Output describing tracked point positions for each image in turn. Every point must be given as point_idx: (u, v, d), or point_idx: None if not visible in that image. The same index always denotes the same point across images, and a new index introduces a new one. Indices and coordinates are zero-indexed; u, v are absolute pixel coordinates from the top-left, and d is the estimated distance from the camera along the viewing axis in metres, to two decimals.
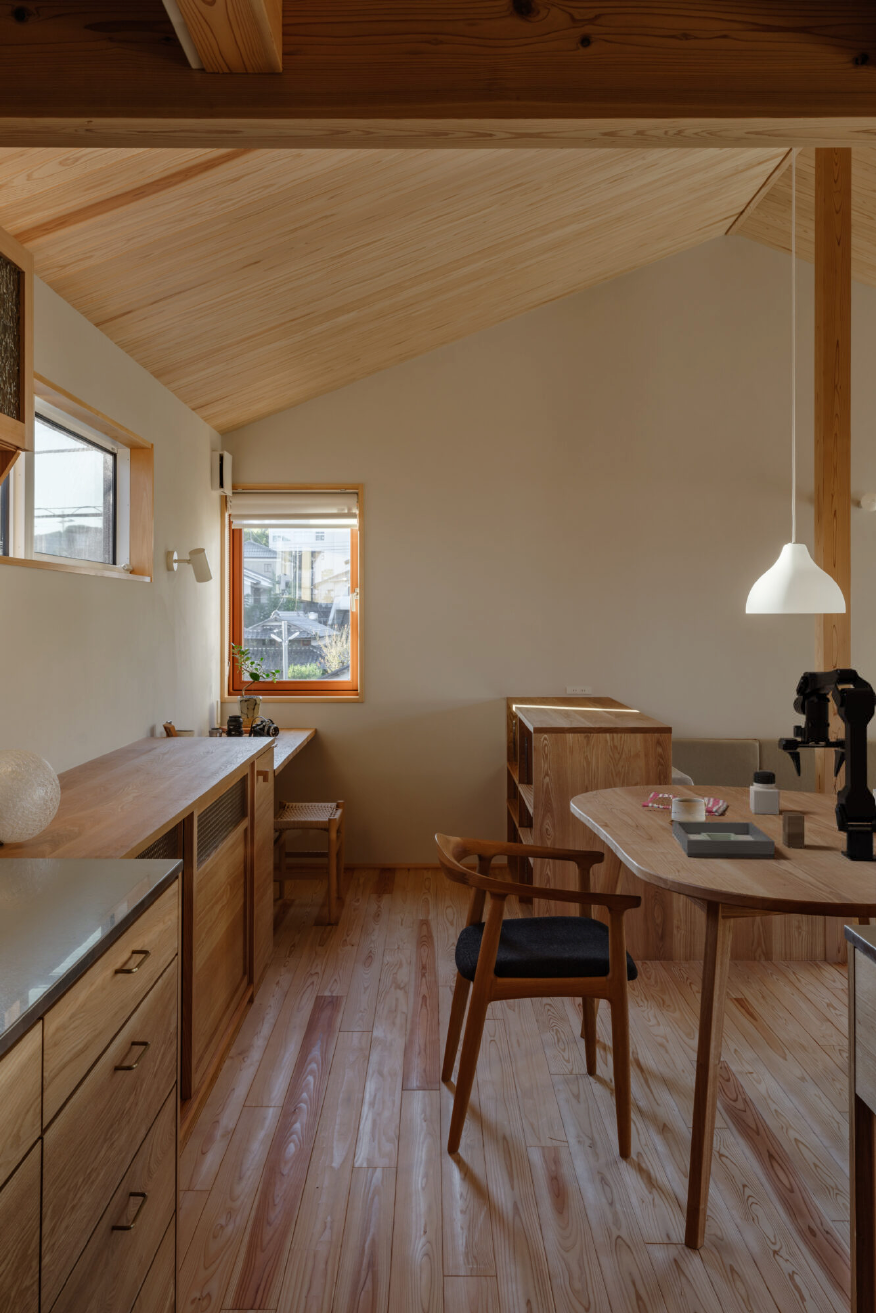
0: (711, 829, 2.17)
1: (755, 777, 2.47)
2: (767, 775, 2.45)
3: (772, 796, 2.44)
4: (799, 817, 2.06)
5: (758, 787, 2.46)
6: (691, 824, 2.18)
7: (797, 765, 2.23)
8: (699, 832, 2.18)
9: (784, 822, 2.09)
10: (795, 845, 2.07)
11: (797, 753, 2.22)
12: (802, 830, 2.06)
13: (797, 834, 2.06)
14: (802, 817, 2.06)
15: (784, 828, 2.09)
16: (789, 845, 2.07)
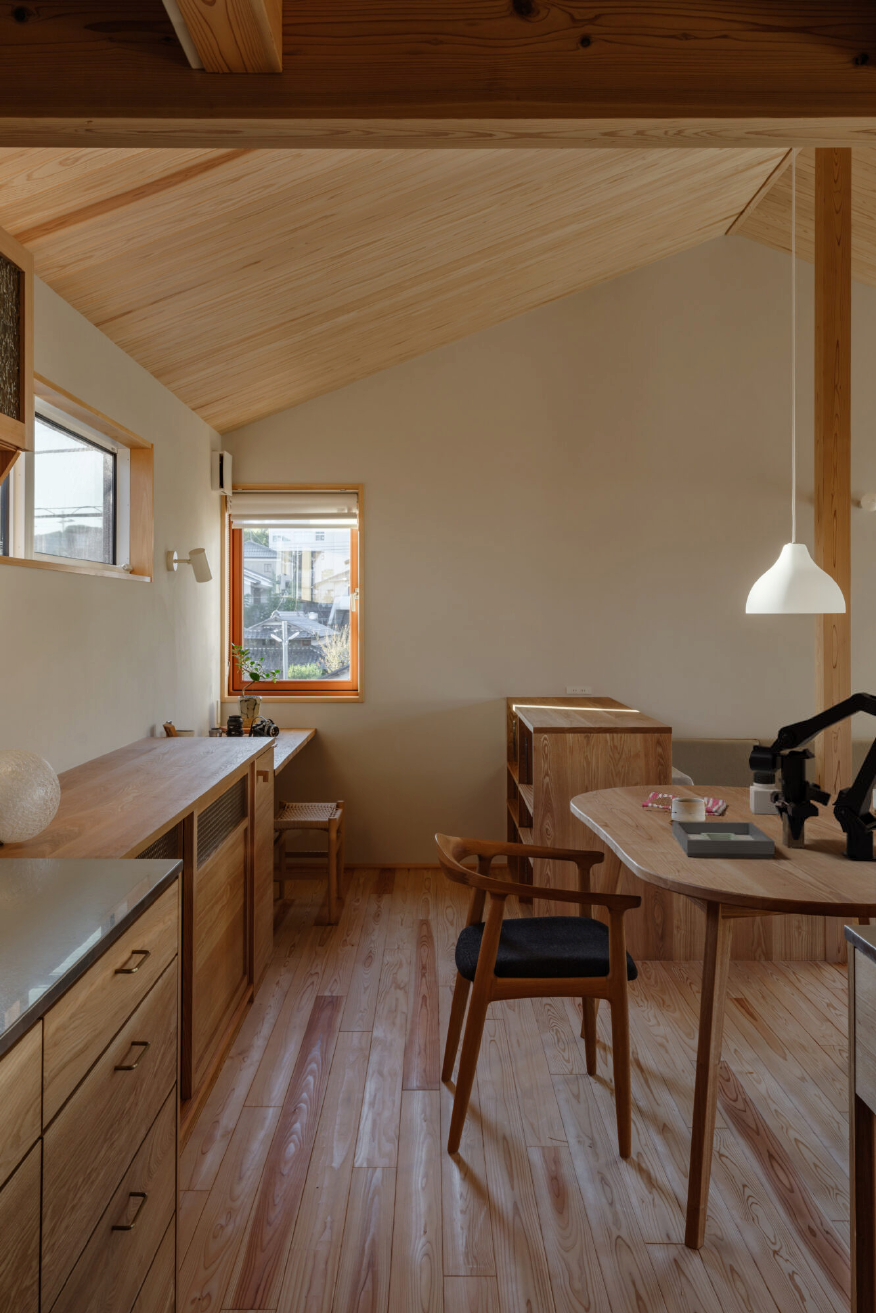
0: (711, 829, 2.17)
1: (755, 777, 2.47)
2: (767, 775, 2.45)
3: None
4: None
5: (758, 787, 2.46)
6: (691, 824, 2.18)
7: None
8: (699, 832, 2.18)
9: (784, 822, 2.09)
10: (795, 845, 2.07)
11: (777, 808, 2.12)
12: (802, 830, 2.06)
13: None
14: None
15: (784, 828, 2.09)
16: (789, 845, 2.07)
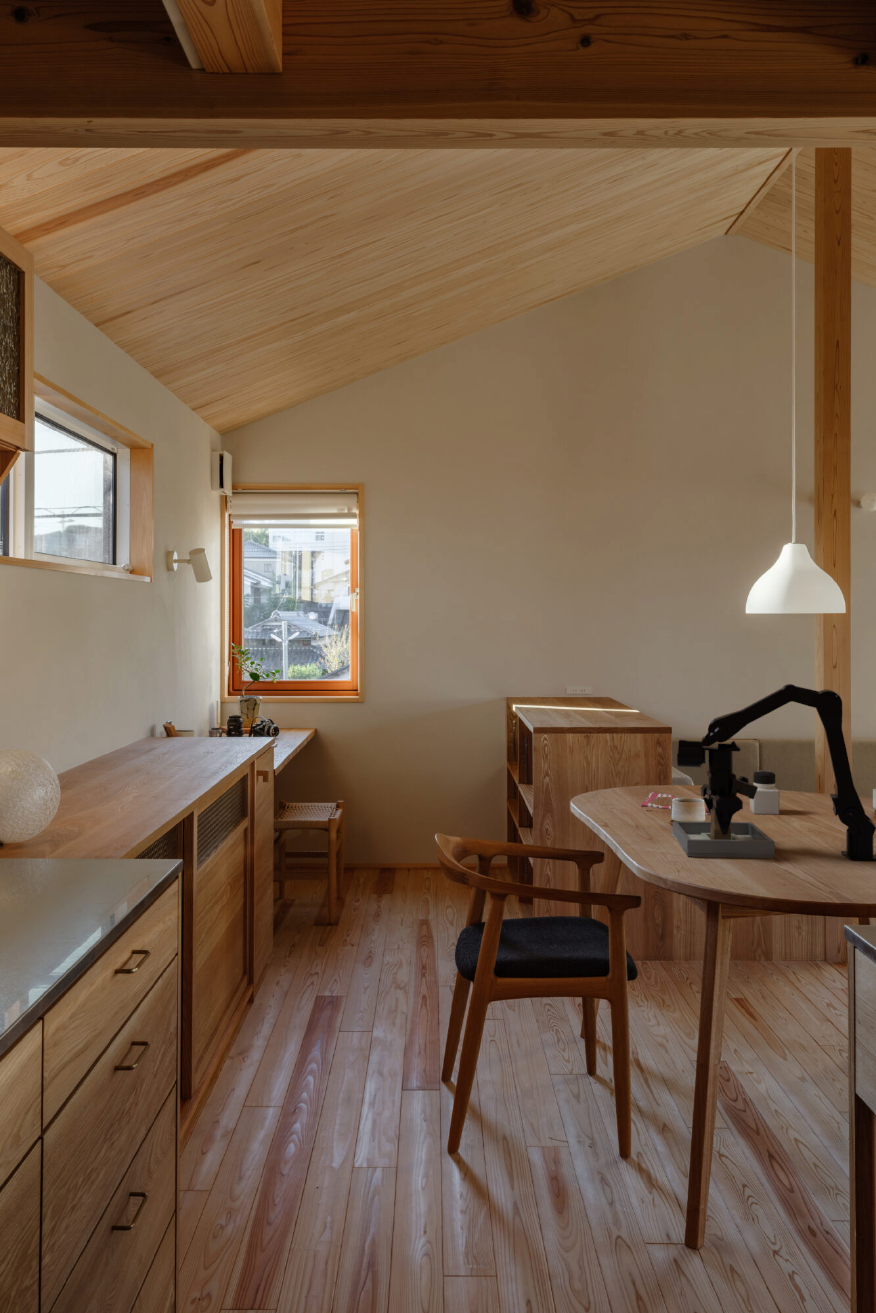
0: None
1: (755, 777, 2.47)
2: (767, 775, 2.45)
3: (772, 796, 2.44)
4: None
5: (758, 787, 2.46)
6: (691, 824, 2.18)
7: None
8: (699, 832, 2.18)
9: (712, 819, 2.09)
10: None
11: (704, 800, 2.14)
12: (729, 827, 2.06)
13: None
14: None
15: (712, 825, 2.09)
16: None
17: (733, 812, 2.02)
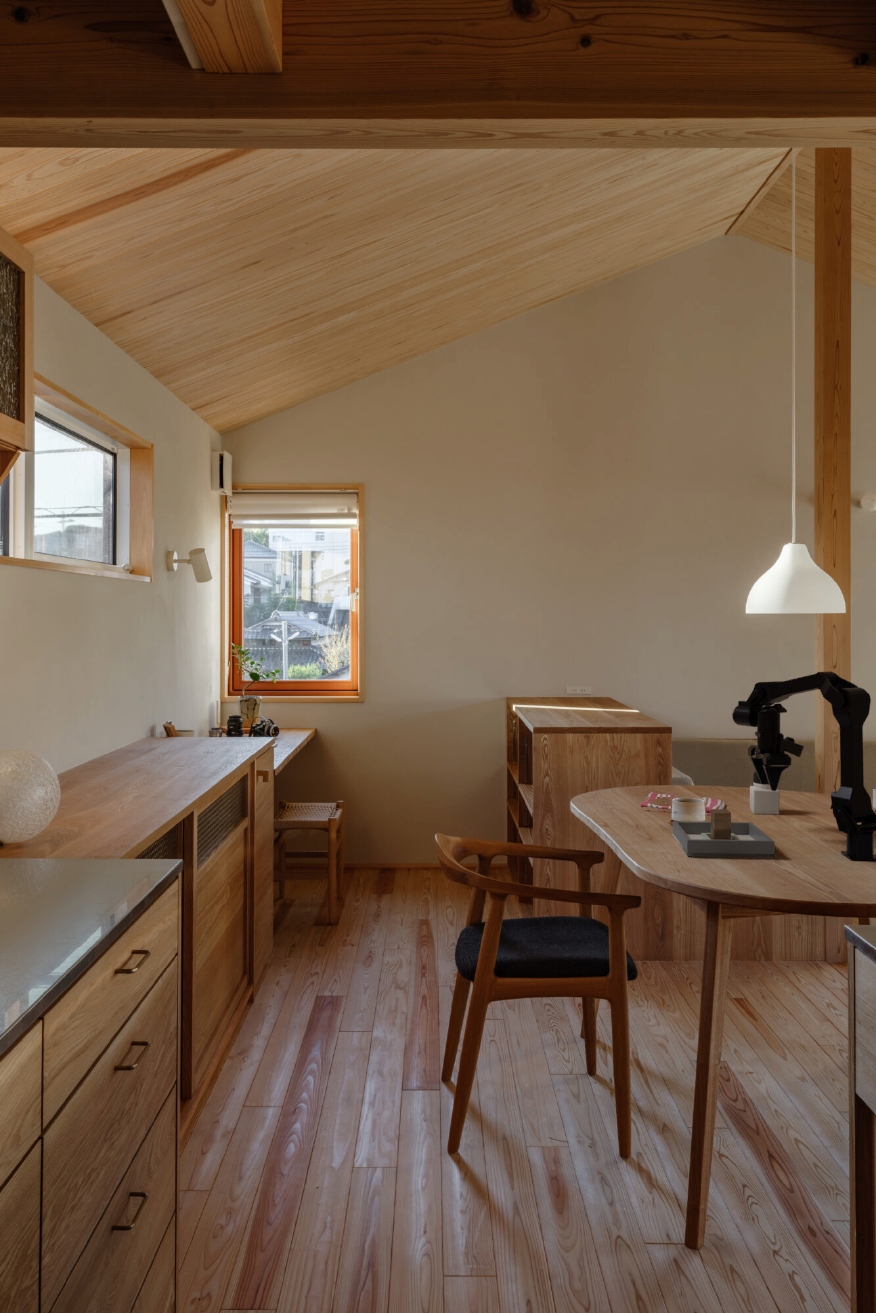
0: None
1: (755, 777, 2.47)
2: None
3: (772, 796, 2.44)
4: (726, 814, 2.06)
5: (758, 787, 2.46)
6: (691, 824, 2.18)
7: None
8: (699, 832, 2.18)
9: (712, 819, 2.09)
10: None
11: (751, 759, 2.28)
12: (729, 827, 2.06)
13: (723, 831, 2.06)
14: (729, 814, 2.06)
15: (712, 825, 2.09)
16: None
17: (782, 769, 2.15)
